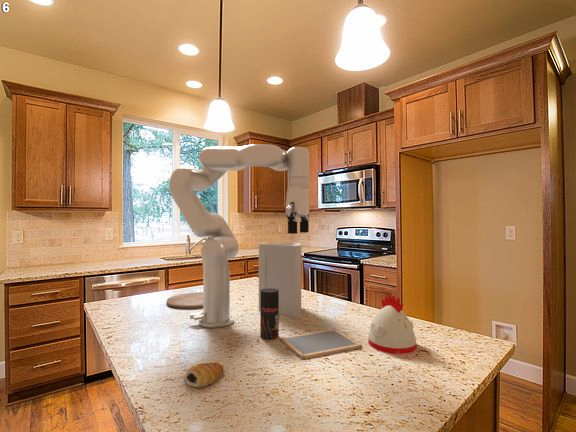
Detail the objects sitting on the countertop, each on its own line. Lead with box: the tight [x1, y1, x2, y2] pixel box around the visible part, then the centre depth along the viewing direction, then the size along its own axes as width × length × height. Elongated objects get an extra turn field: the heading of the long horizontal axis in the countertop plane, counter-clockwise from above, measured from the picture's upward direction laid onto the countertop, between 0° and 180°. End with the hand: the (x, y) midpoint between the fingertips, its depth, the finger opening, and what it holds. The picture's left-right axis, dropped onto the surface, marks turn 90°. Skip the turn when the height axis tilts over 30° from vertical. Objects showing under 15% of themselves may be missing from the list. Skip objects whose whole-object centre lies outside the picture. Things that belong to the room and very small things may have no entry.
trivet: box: [166, 291, 203, 310], centre depth 148 cm, size 25×25×2 cm
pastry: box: [183, 362, 225, 389], centre depth 76 cm, size 9×7×4 cm
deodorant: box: [259, 288, 280, 341], centre depth 104 cm, size 6×6×15 cm
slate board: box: [280, 328, 363, 360], centre depth 98 cm, size 20×15×1 cm
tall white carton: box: [258, 242, 302, 320], centre depth 134 cm, size 19×15×28 cm
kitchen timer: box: [368, 294, 417, 355], centre depth 98 cm, size 14×14×15 cm
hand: (298, 233), depth 110 cm, fingers open, 9 cm apart
